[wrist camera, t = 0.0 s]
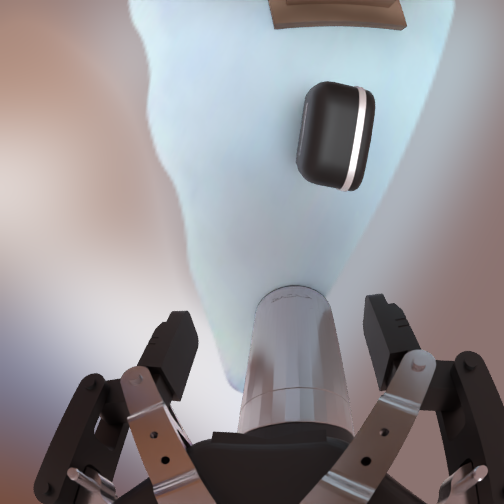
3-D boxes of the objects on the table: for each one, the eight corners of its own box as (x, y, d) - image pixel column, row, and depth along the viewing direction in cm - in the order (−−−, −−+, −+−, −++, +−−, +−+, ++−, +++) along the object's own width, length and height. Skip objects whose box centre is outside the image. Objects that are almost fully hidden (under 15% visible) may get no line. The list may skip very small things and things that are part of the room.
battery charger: (300, 94, 23) (314, 69, 13) (340, 102, 23) (380, 85, 12) (290, 164, 26) (297, 189, 16) (329, 171, 26) (360, 201, 15)
